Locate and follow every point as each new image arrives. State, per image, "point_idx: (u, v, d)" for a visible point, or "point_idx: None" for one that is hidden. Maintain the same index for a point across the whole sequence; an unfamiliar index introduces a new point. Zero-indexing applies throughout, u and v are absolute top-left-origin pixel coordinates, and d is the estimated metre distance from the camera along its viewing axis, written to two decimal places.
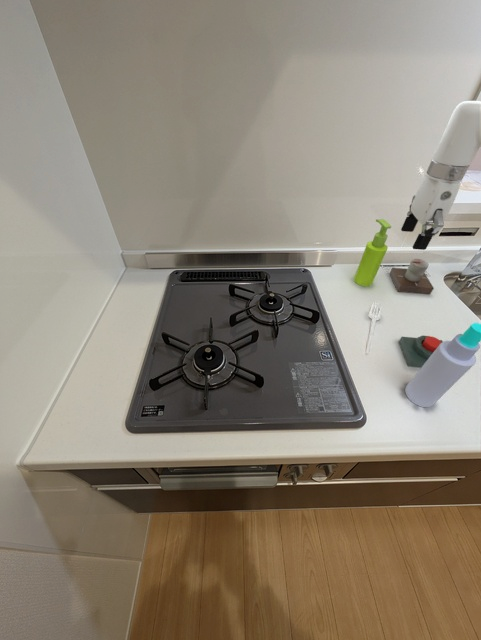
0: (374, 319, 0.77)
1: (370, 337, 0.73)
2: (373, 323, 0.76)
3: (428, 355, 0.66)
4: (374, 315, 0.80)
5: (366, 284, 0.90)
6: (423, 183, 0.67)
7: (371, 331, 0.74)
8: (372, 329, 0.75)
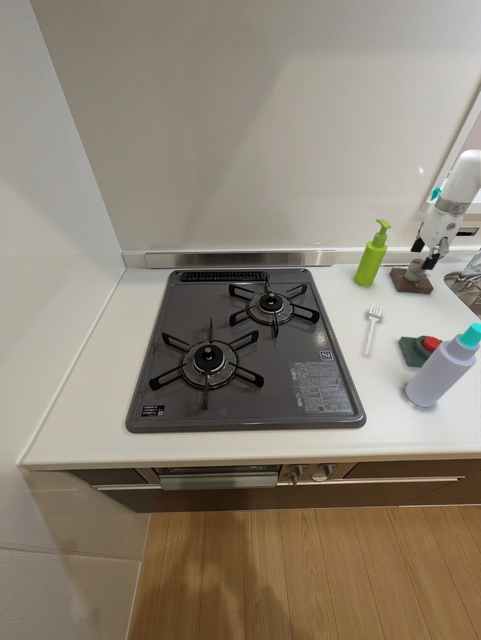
0: (373, 320, 0.78)
1: (369, 338, 0.73)
2: (372, 324, 0.77)
3: (428, 355, 0.66)
4: None
5: (366, 284, 0.90)
6: (431, 214, 0.78)
7: (370, 332, 0.75)
8: (371, 330, 0.75)
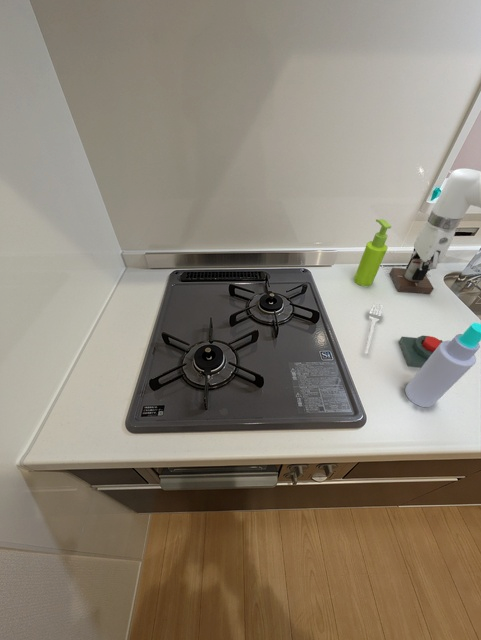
0: (374, 320, 0.78)
1: (369, 338, 0.73)
2: (372, 324, 0.77)
3: (428, 355, 0.66)
4: None
5: (366, 284, 0.90)
6: (424, 228, 0.81)
7: (371, 332, 0.75)
8: (372, 330, 0.75)
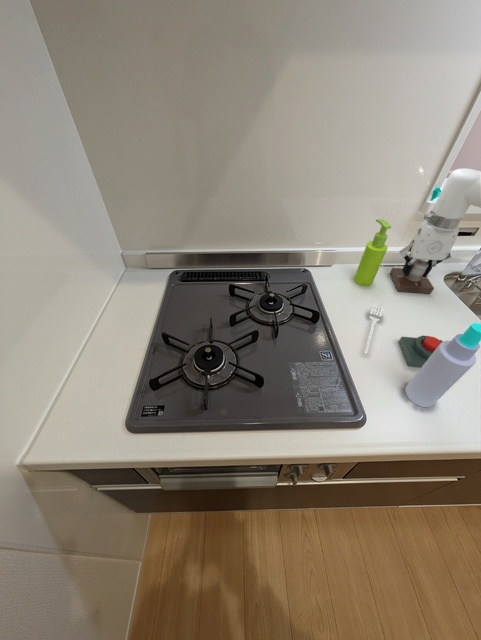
0: (374, 320, 0.78)
1: (369, 338, 0.73)
2: (373, 324, 0.77)
3: (428, 355, 0.66)
4: None
5: (366, 284, 0.90)
6: None
7: (371, 332, 0.75)
8: (372, 330, 0.75)
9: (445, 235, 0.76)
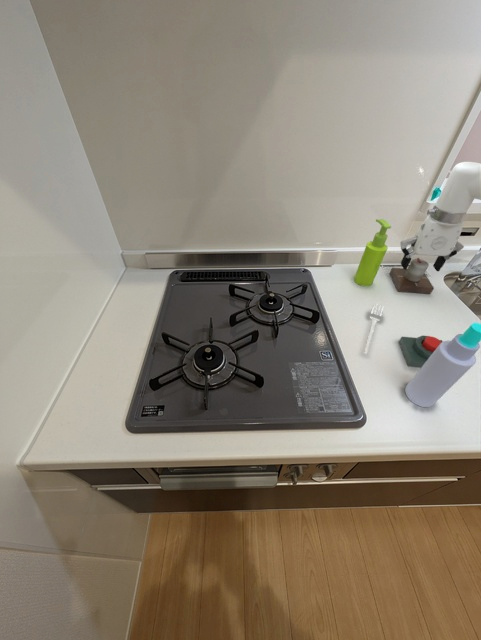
0: (374, 320, 0.78)
1: (369, 338, 0.73)
2: (373, 324, 0.77)
3: (428, 355, 0.66)
4: None
5: (366, 284, 0.90)
6: None
7: (371, 332, 0.75)
8: (372, 330, 0.75)
9: (449, 230, 0.75)
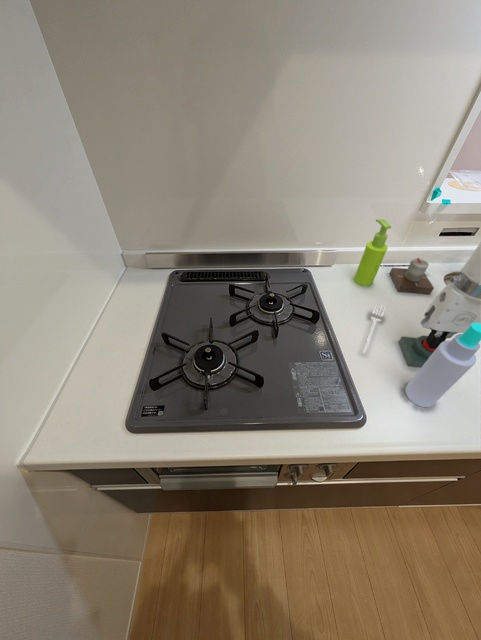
0: (375, 320, 0.78)
1: (369, 338, 0.73)
2: (373, 324, 0.77)
3: (428, 355, 0.66)
4: None
5: (366, 284, 0.90)
6: None
7: (371, 332, 0.75)
8: (372, 330, 0.75)
9: (480, 305, 0.54)
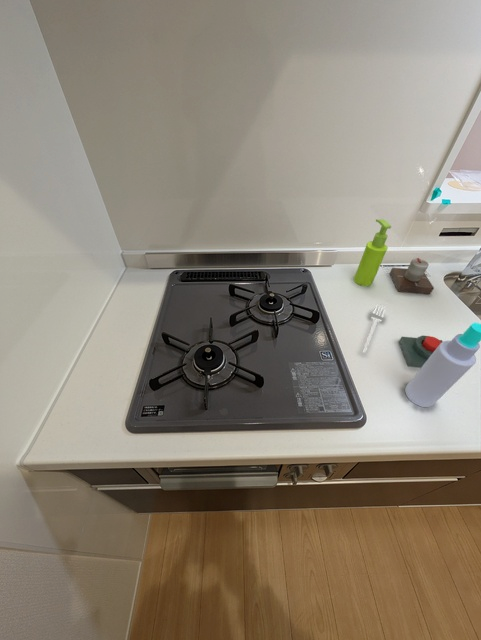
0: (375, 320, 0.78)
1: (369, 337, 0.73)
2: (373, 324, 0.77)
3: (428, 355, 0.66)
4: None
5: (366, 284, 0.90)
6: None
7: (371, 332, 0.75)
8: (372, 330, 0.75)
9: None
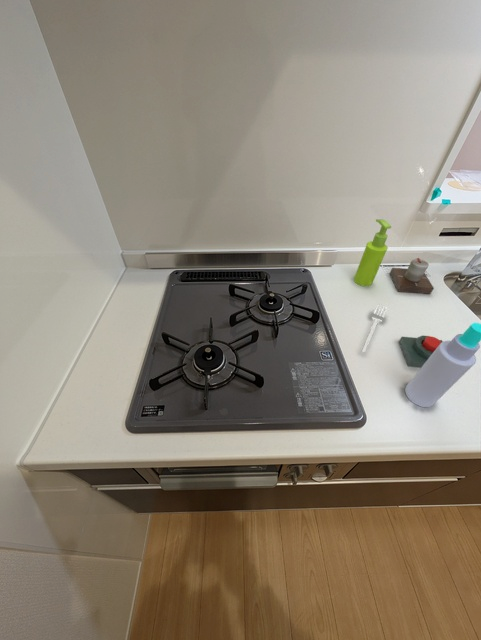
0: (376, 321, 0.78)
1: (368, 337, 0.73)
2: (374, 324, 0.77)
3: (428, 355, 0.66)
4: None
5: (366, 284, 0.90)
6: None
7: (371, 332, 0.75)
8: (372, 330, 0.75)
9: None
